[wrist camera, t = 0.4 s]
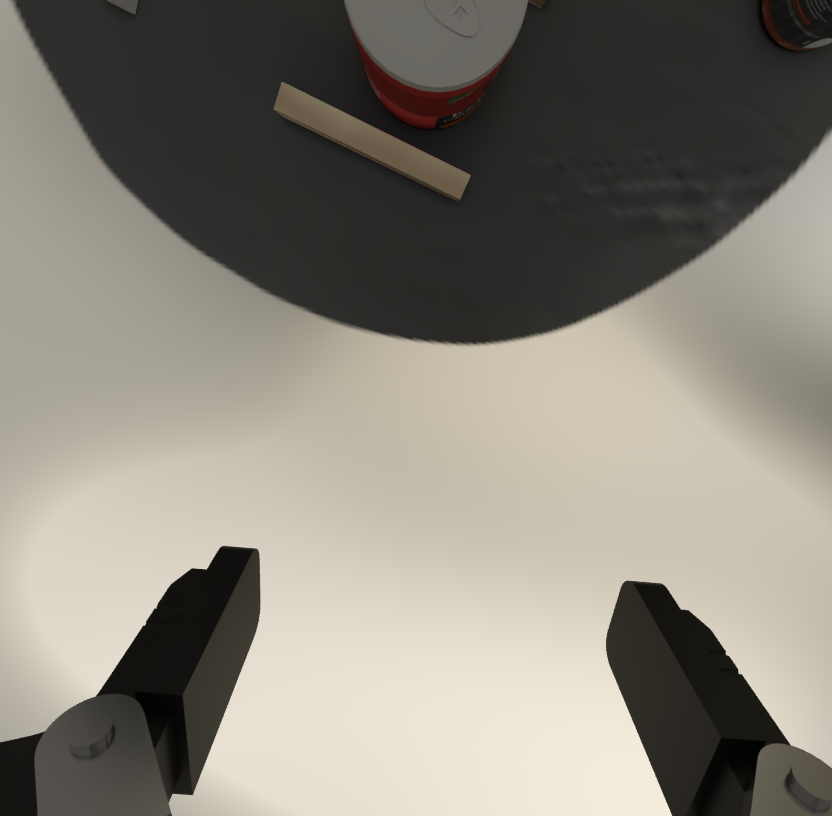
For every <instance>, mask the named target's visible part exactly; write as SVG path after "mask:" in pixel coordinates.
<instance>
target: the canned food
mask: <svg viewBox="0 0 832 816" xmlns="http://www.w3.org/2000/svg"><path fill="white" fill-rule="evenodd" d="M344 4H345V8H346V11H347V16H348V19H349V22H350V25H351V28H352V31H353V34H354V37H355V40H356V43H357V46H358V49H359V52H360V55H361V58H362V61H363V64H364V67H365V70H366V73H367V76H368V79H369V82H370V85H371V87H372V89H373V91H374V92H375V94H376V96H377V98H378V99H379V100H380V102H381V103H382V104H383V105H384V107H385V108H386V109H387V110H388V111H389V112H391V113H392V114H393V115H394V116H395V117H396V118H398V119H400V120H401V121H403V122H405V123H407V124H409V125H412V126H415V127H418V128H425V129H438V128H445V127H448V126H451V125H453V124H456V123H458V122H459V121H461V120H463V119H464V118H466V117H467V116H468V115H469V114H470V113H471V112H472V111H473V110H475V109H476V107H477V106H478V105H479V103H480V102H481V100H482V99H483V98H484V96H485V94H486V92H487V91H488V89H489V87H490V86H491V84H492V82H493V80H494V79H495V77H496V75H497V73H498V72H499V70H500V68H501V66H502V65H503V63H504V61H505V60H506V58H507V56H508V54H509V52H510V50H511V48H512V46H513V44H514V42H515V40H516V38H517V35H518V33H519V31H520V29H521V27H522V23H523V19H524V16H525V12H526V8H527V4H528V0H344Z"/></svg>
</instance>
